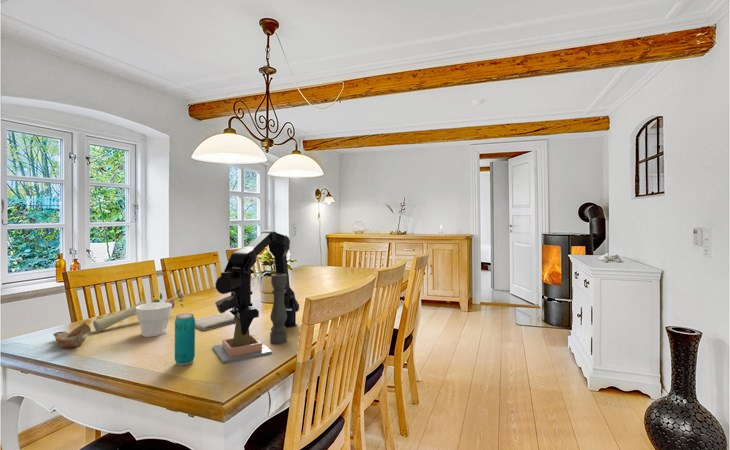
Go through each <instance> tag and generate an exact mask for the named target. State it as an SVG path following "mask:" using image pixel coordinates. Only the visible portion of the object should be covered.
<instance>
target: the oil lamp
mask: <svg viewBox="0 0 730 450" xmlns="http://www.w3.org/2000/svg"><path fill="white" fill-rule="evenodd" d="M91 331H92V328H91V327H90V325H89V324H88V323H87V322H86V321H83V322H82V323H81V324H80V325H78V326H77V327H75V328H74V329H72V331H70V332H67V331H57V332H54V333H53V334H52V335H53V336H54V338H55V341H56V342H57V344H58V345H59V346H60V347H61V348H64V349H65V348H66V349H69V348H70V347H71V348H75V347H81V346H82V344H83V343H84V342H85V341H86V338H87V335H88V334H89V333H91Z"/></svg>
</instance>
